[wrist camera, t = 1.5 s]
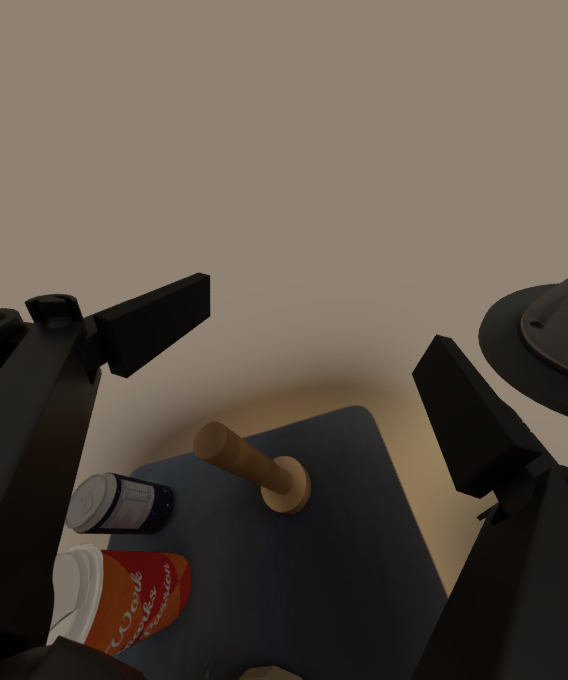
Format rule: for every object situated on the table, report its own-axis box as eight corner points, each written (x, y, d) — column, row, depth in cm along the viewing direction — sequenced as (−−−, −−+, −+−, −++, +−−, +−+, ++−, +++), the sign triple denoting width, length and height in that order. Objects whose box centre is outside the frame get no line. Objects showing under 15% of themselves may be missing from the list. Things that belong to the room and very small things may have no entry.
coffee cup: (163, 669, 23) (-24, 783, 12) (127, 603, 27) (-34, 645, 17) (214, 570, 27) (105, 591, 16) (175, 526, 31) (69, 519, 21)
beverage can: (170, 478, 36) (105, 459, 27) (182, 509, 32) (112, 499, 24) (139, 509, 34) (59, 499, 26) (148, 545, 31) (60, 549, 22)
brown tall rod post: (298, 452, 32) (235, 386, 18) (320, 497, 28) (260, 456, 14) (262, 476, 32) (168, 426, 18) (279, 524, 28) (174, 511, 13)
